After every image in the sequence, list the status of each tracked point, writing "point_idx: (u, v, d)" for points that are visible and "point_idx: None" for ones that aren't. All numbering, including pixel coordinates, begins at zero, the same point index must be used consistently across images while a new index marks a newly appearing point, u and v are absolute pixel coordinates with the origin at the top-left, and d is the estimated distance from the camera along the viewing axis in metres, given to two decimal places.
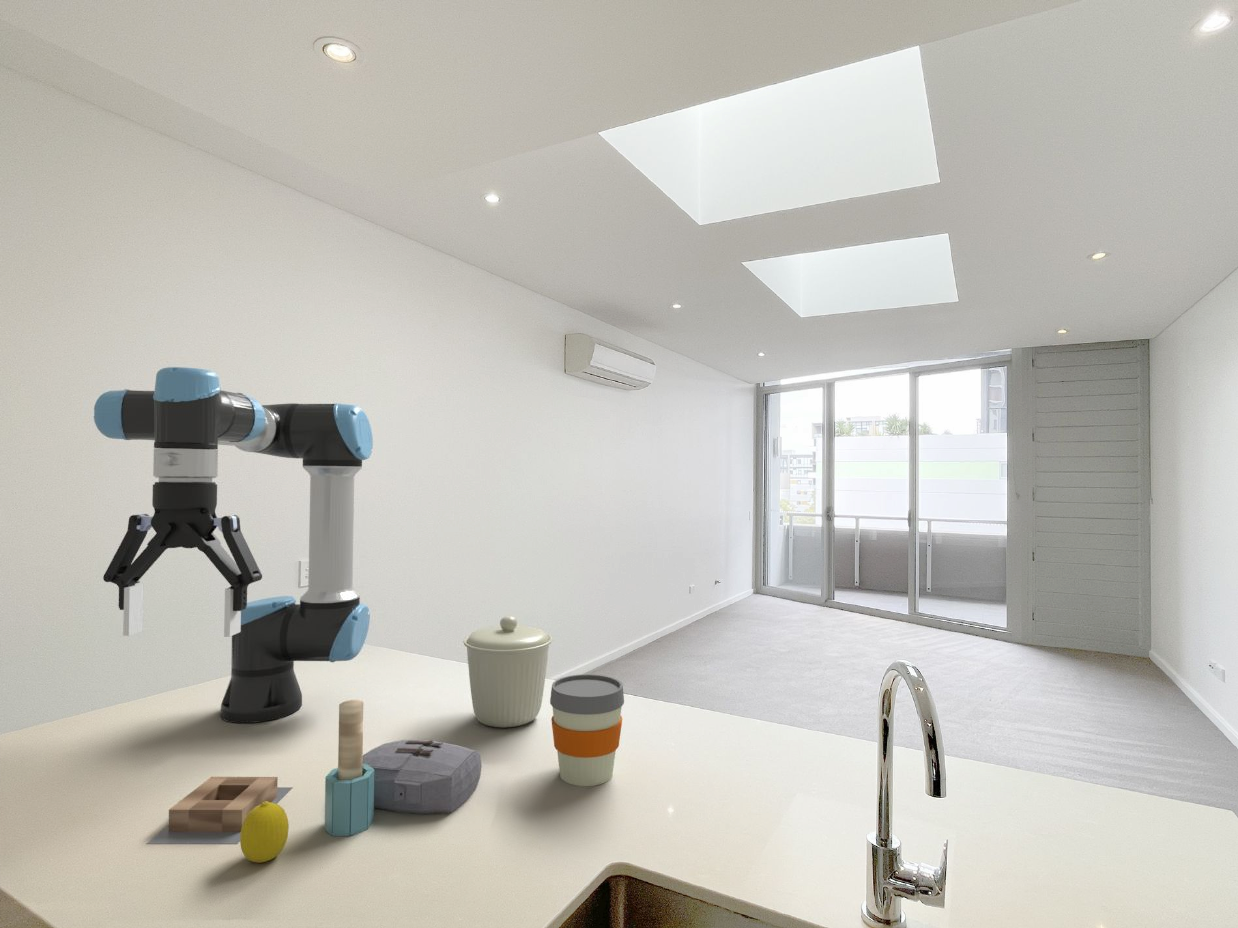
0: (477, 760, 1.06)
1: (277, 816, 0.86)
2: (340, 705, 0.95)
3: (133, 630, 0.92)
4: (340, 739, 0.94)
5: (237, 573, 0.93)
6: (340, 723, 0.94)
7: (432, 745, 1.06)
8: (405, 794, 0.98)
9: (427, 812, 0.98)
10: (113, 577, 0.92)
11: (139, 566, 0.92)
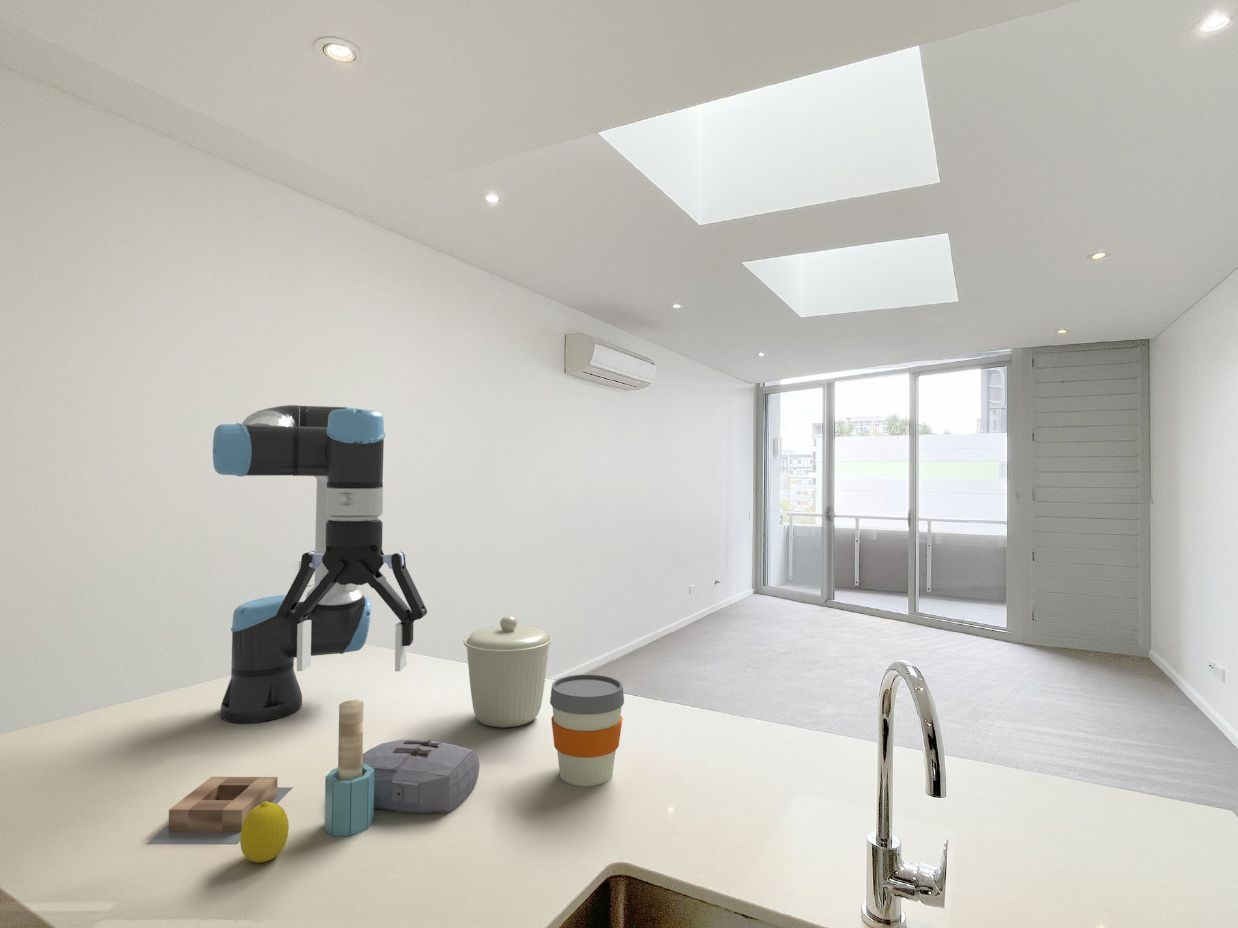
0: (475, 760, 1.07)
1: (277, 816, 0.86)
2: (340, 705, 0.95)
3: (305, 665, 0.94)
4: (340, 739, 0.94)
5: (405, 609, 0.95)
6: (340, 723, 0.94)
7: (430, 745, 1.06)
8: (403, 794, 0.98)
9: (425, 812, 0.98)
10: (286, 613, 0.94)
11: (312, 603, 0.94)
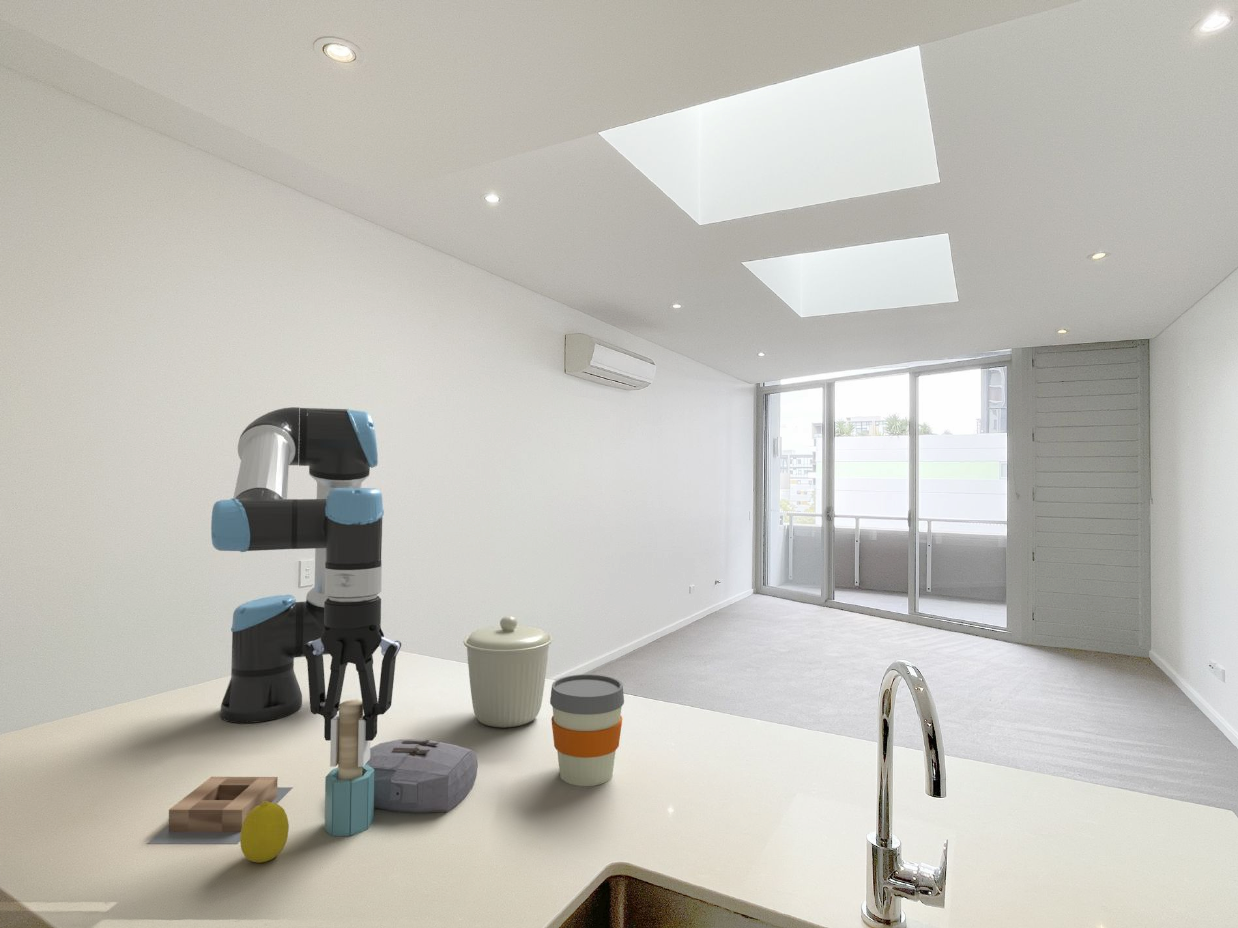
0: (473, 759, 1.07)
1: (277, 816, 0.86)
2: (340, 705, 0.95)
3: None
4: (340, 739, 0.94)
5: (374, 703, 0.95)
6: (340, 723, 0.94)
7: (428, 745, 1.06)
8: (402, 794, 0.98)
9: (424, 811, 0.98)
10: (319, 706, 0.94)
11: (334, 691, 0.94)
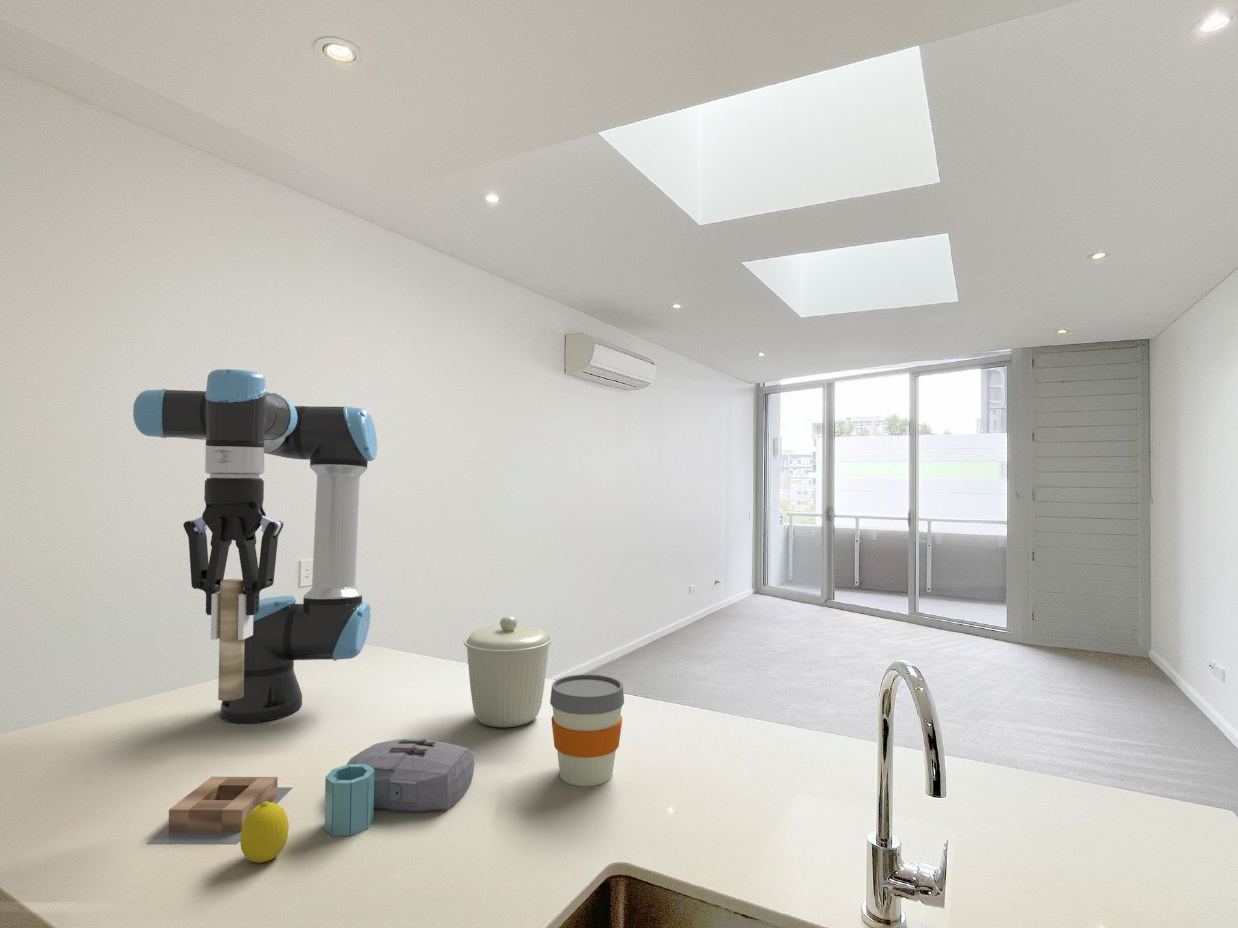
0: (471, 758, 1.07)
1: (277, 816, 0.86)
2: (221, 581, 0.97)
3: None
4: (220, 613, 0.97)
5: (255, 580, 0.98)
6: (220, 598, 0.97)
7: (426, 744, 1.06)
8: (401, 793, 0.98)
9: (423, 810, 0.99)
10: (200, 581, 0.97)
11: (215, 567, 0.97)
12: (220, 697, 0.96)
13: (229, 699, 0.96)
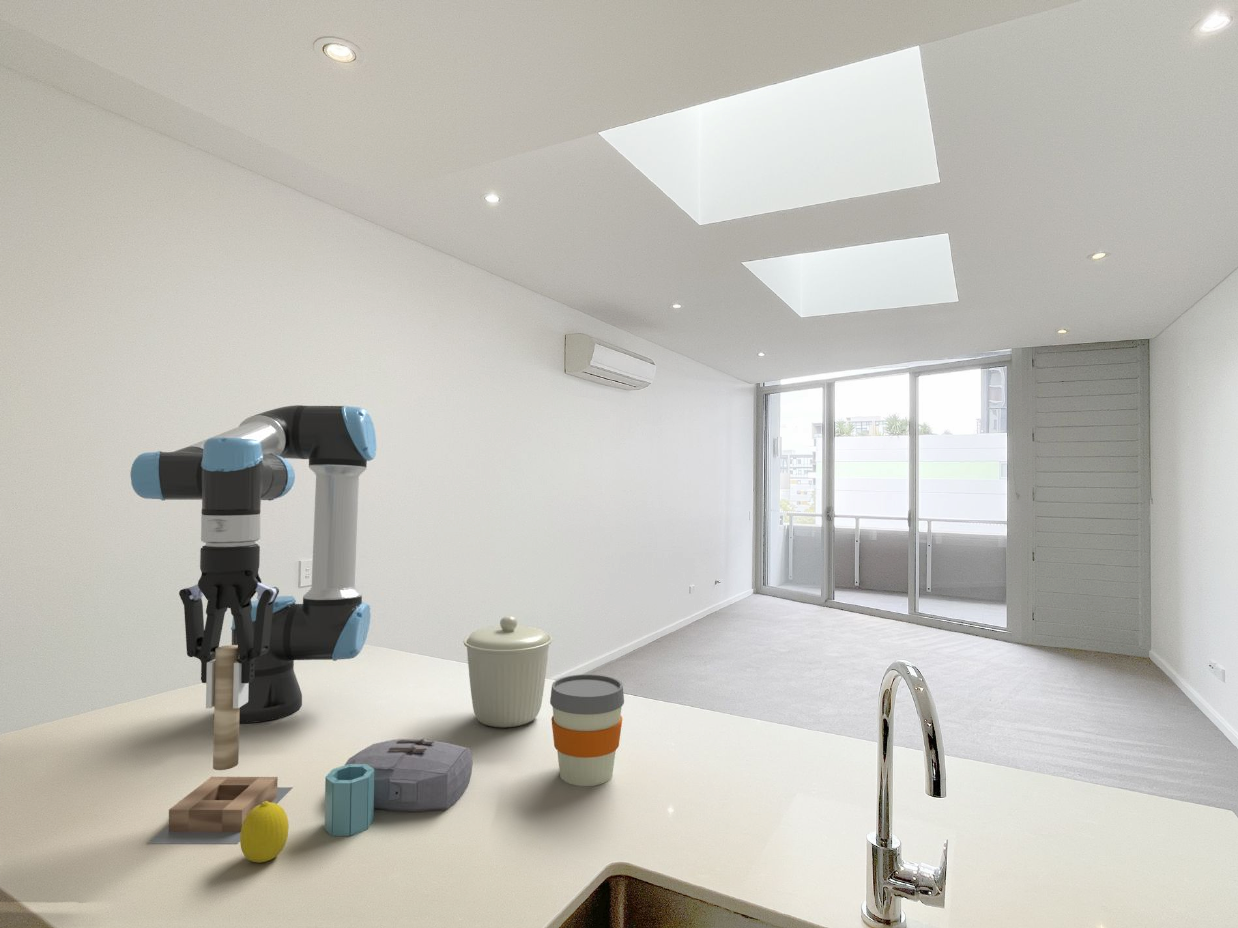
0: (469, 757, 1.08)
1: (277, 816, 0.86)
2: (216, 649, 0.97)
3: None
4: (215, 681, 0.96)
5: (250, 647, 0.98)
6: (216, 666, 0.96)
7: (424, 744, 1.06)
8: (401, 793, 0.98)
9: (423, 810, 0.99)
10: (195, 650, 0.97)
11: (210, 635, 0.97)
12: (215, 766, 0.96)
13: (224, 768, 0.96)
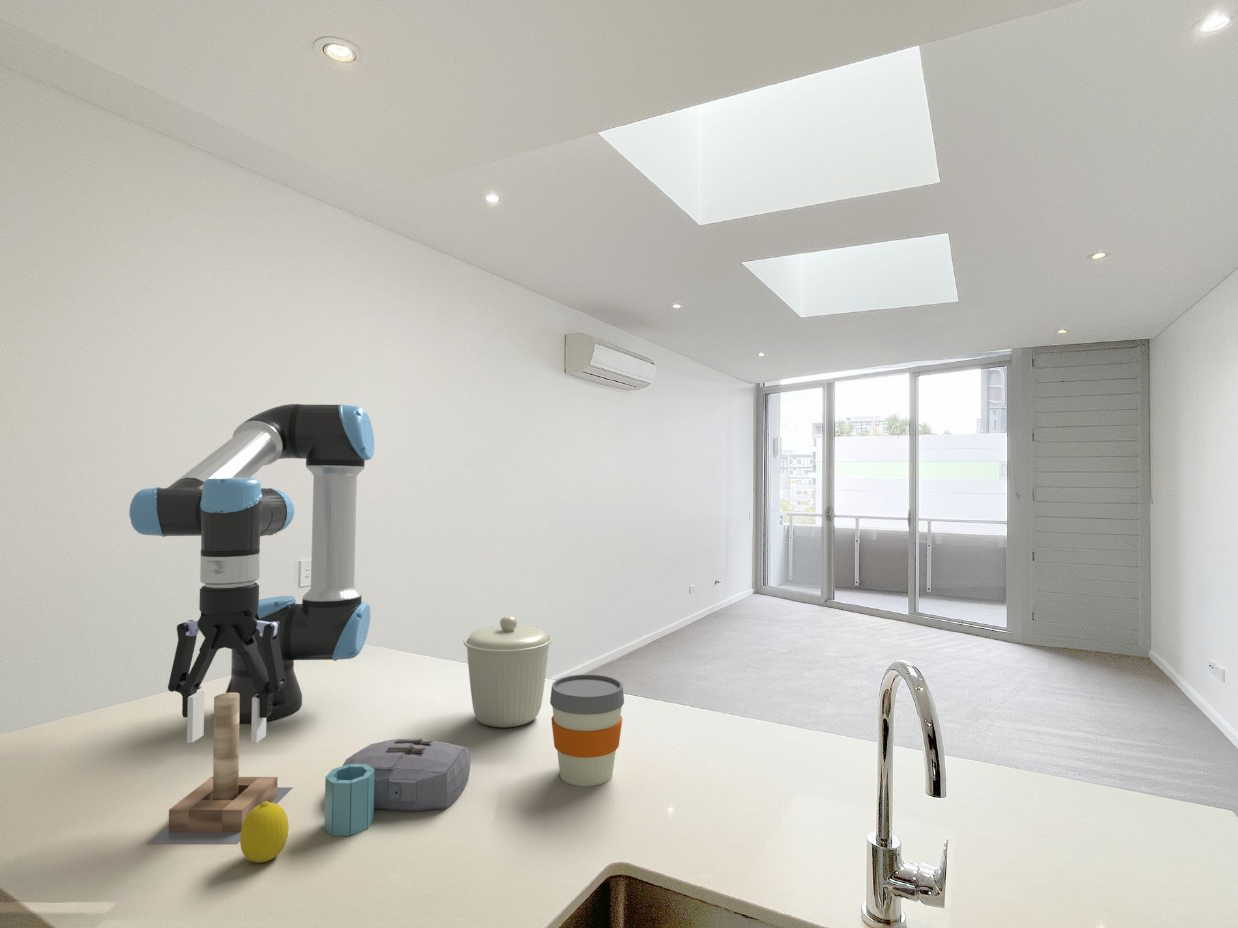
0: (467, 756, 1.08)
1: (277, 816, 0.86)
2: (215, 697, 0.97)
3: (196, 736, 0.97)
4: (214, 730, 0.96)
5: (265, 681, 0.98)
6: (214, 715, 0.96)
7: (422, 743, 1.07)
8: (400, 793, 0.98)
9: (422, 809, 0.99)
10: (177, 685, 0.97)
11: (197, 672, 0.97)
12: None
13: None
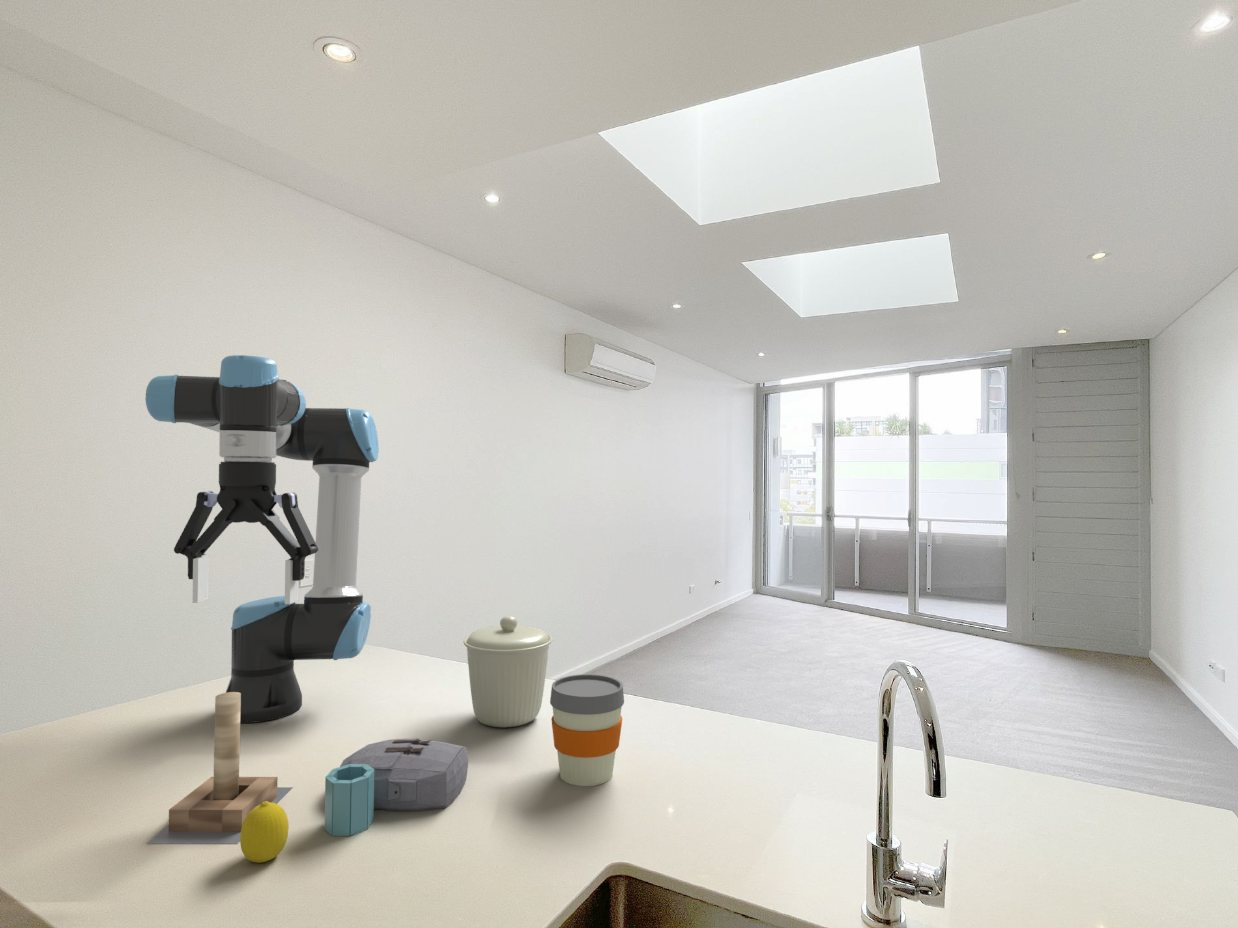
0: (466, 755, 1.08)
1: (277, 816, 0.86)
2: (216, 697, 0.97)
3: (201, 598, 1.00)
4: (215, 730, 0.97)
5: (296, 546, 1.00)
6: (215, 714, 0.97)
7: (421, 743, 1.07)
8: (400, 792, 0.98)
9: (422, 808, 0.99)
10: (183, 549, 1.00)
11: (206, 539, 0.99)
12: None
13: None
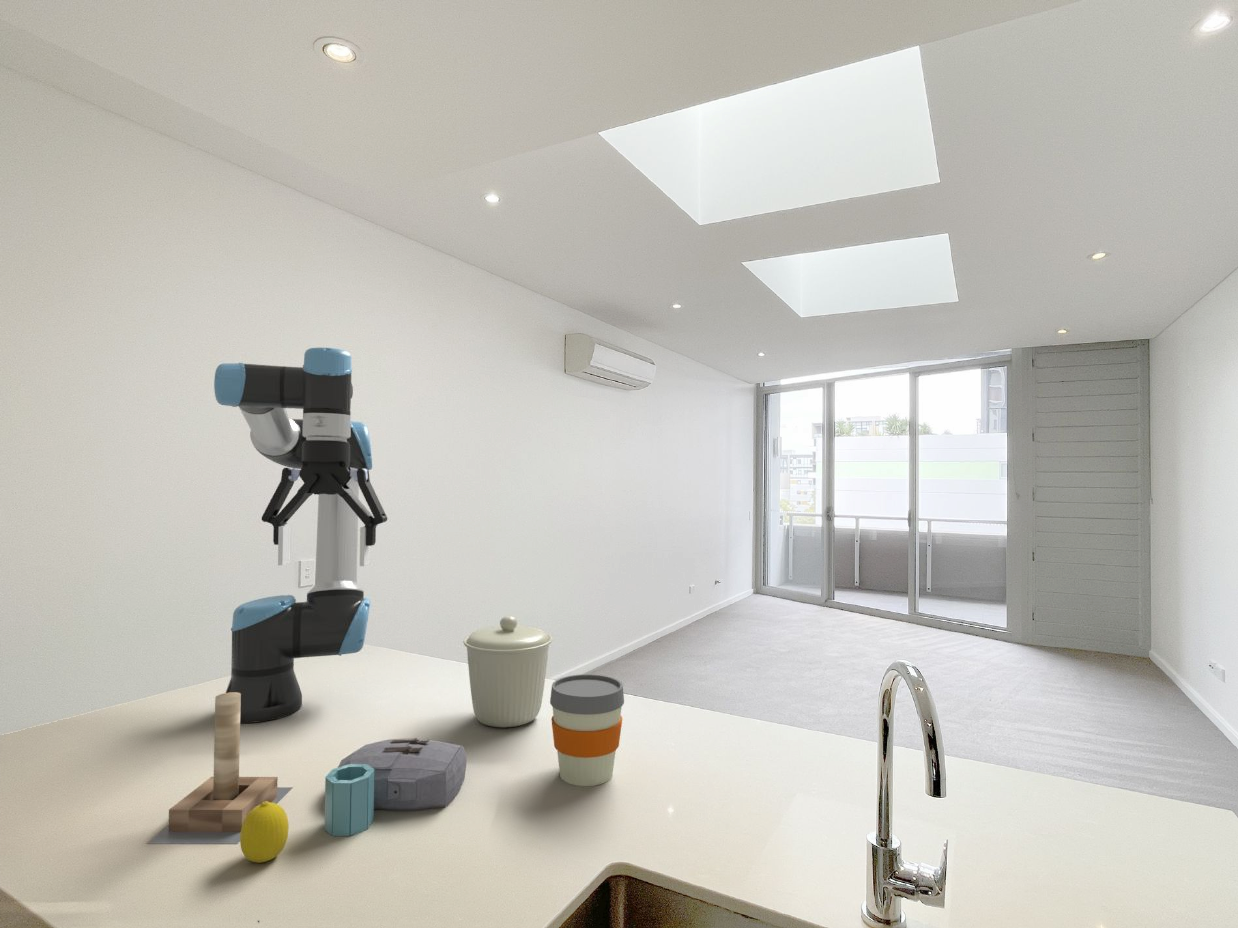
0: (464, 755, 1.08)
1: (277, 816, 0.86)
2: (216, 697, 0.97)
3: (285, 561, 1.14)
4: (215, 730, 0.96)
5: (368, 515, 1.14)
6: (215, 714, 0.97)
7: (419, 743, 1.07)
8: (400, 792, 0.98)
9: (421, 808, 0.99)
10: (269, 518, 1.13)
11: (290, 509, 1.13)
12: None
13: None
